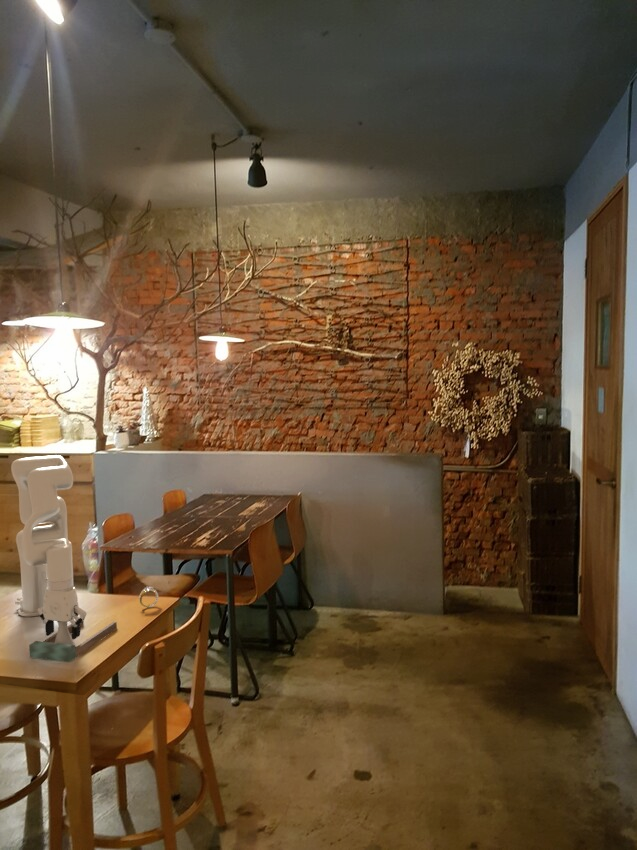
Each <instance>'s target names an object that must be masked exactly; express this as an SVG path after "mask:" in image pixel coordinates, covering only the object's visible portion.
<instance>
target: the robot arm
mask: <svg viewBox="0 0 637 850" xmlns="http://www.w3.org/2000/svg"><path fill="white" fill-rule="evenodd" d="M10 469H11V474H12V478H13V480H14V482H15V483H16V486H17V489H18V500H19V501H18V504H19V505H18V506H19V507H18V508H19V518H20V522H21V524H23V525H24V527H23V529H21V530H20V531H18V533H17V534H16V536H15V537H16V538H15V542H16V543H15V544H16V547H17V551H18V556H19V566H20V579H21V580H20V581H21V582H20V583H21V597H20V596H18V597H17V598H16V600H15V601H14V603H15V605H16V606H18V605H19V606H20V607H19V609H18V610H17V611H18V615H19V616H22V617H31V618H32V617H37V616H39V617H40V618H41V620H42V623H43V624H44V626H45V627H44V628H45V637H48V636H49V637H50V635H53V634H54V632H55V623H54V622H57V621H61V622H67V623H70V624H72V625H73V627H72V633H71V637H72V639H73V640H75V639H77V638H78V637H80V635H81V627H80V624H81V623H82V622H83V621H85V619H86V616H87V612H86V611H85V610H84V609H82V608H81V607H79V600H78V599H79V598H78V593H77V590H76V586H74V569H73V568H74V567H73V566H74V565H73V543H72V542H71V541H70V540H69V539H68V538H69V536H68V534H69V533H68V532H69V531H68V529H69V528H68V510H67V504H66V501H65V500H64V498H63V497H61V496H59V495H58V491H63V490H64V491H65V490H69V489H71V488H72V487H73V486H74V474H73V472H72V469H71V467H70V465H69V463H68V462H67V460H66V459H65V458H64V456H62V455H59V454H58V455H57V454H55V455H43V456H29V457H22V458H17V459H15V460H14V461H12V463H11V468H10ZM50 523H52V524H50ZM42 524H43V525H42ZM44 524H49V525H44ZM38 525H40V526H38ZM75 621H76V622H75Z"/></svg>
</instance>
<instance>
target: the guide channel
mask: <svg viewBox="0 0 637 850" xmlns="http://www.w3.org/2000/svg"><path fill="white" fill-rule="evenodd" d="M84 621H85V620H84ZM84 621H83V622H82V623H81V624H80V628H82V627H83V626H85V625H84V624H85V623H84ZM75 622H76V620H75ZM67 626H68V630H69V633H70V635H72V627H73V625H72V624H71V623H70V624H69V625H67ZM117 629H118V626H117V621H112V622H111V623H109V624H108V625H106V626H104V627H103V628H102V629H101V630H99V631H97V632H96V633H95V634H92V636H90V637H88V638H87V639H86V640H84V641H82V642H81V643H79V644H78V645H76V644H75V645H67V644H59V643H54V642H55V639H56V636H57V632H55V634H54V633H53V634H51V636H49V637H47V638H46V639H45V640H43V641H40V640H35V641H34V642H32V643H30V644H29V645H28V647H29V649H28V650H29V658H32V659H41V660H49V661H54V662H55V661H57V662H66V663H71V662H72V661H74V660H75V659H77V658H78V657H79V656H80V655H81V656H82V654H83V653H85V652H86V651H87V650H89V649H90V648H92V647H93V646H94V645H96V644H98V643H99V642H101V641H102V640H103V639H104V637H105V636H106V637H108V636H109V635H110V634H111V632H112V633H114V632H115V631H116V630H117ZM108 634H109V635H108ZM106 637H105V638H106ZM101 639H102V640H101ZM75 646H76V647H75Z"/></svg>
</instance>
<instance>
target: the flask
mask: <svg viewBox="0 0 637 850" xmlns="http://www.w3.org/2000/svg"><path fill="white" fill-rule="evenodd" d="M56 623H57V624H58V625H57V626H58V627H57V632H56V633H57V636H56V639H55V642H54V643H59V644H67V645H75V647H77V645H76V644H75V641H74V639H72V634H70V633H69V630H68V626H69V625H68V622H61V621H56Z"/></svg>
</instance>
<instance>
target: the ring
mask: <svg viewBox="0 0 637 850" xmlns="http://www.w3.org/2000/svg"><path fill="white" fill-rule="evenodd" d="M150 591H151V592H153V593H155V600H154V602H152V603H151V604H145V603H143V602H142V601H143V600H142V599H143V597H144V595H146V594H148V592H150ZM158 600H159V593H158V591H157V590H156V589H154V586H149V585H148V586H146V587H144V588H143V589H142V590H141V592H140V594H139V597H138V601H139V603H140V605H141V606H142V607H143V608H148V609H149V608H152V607H155V605H156V604H157V602H158Z"/></svg>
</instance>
